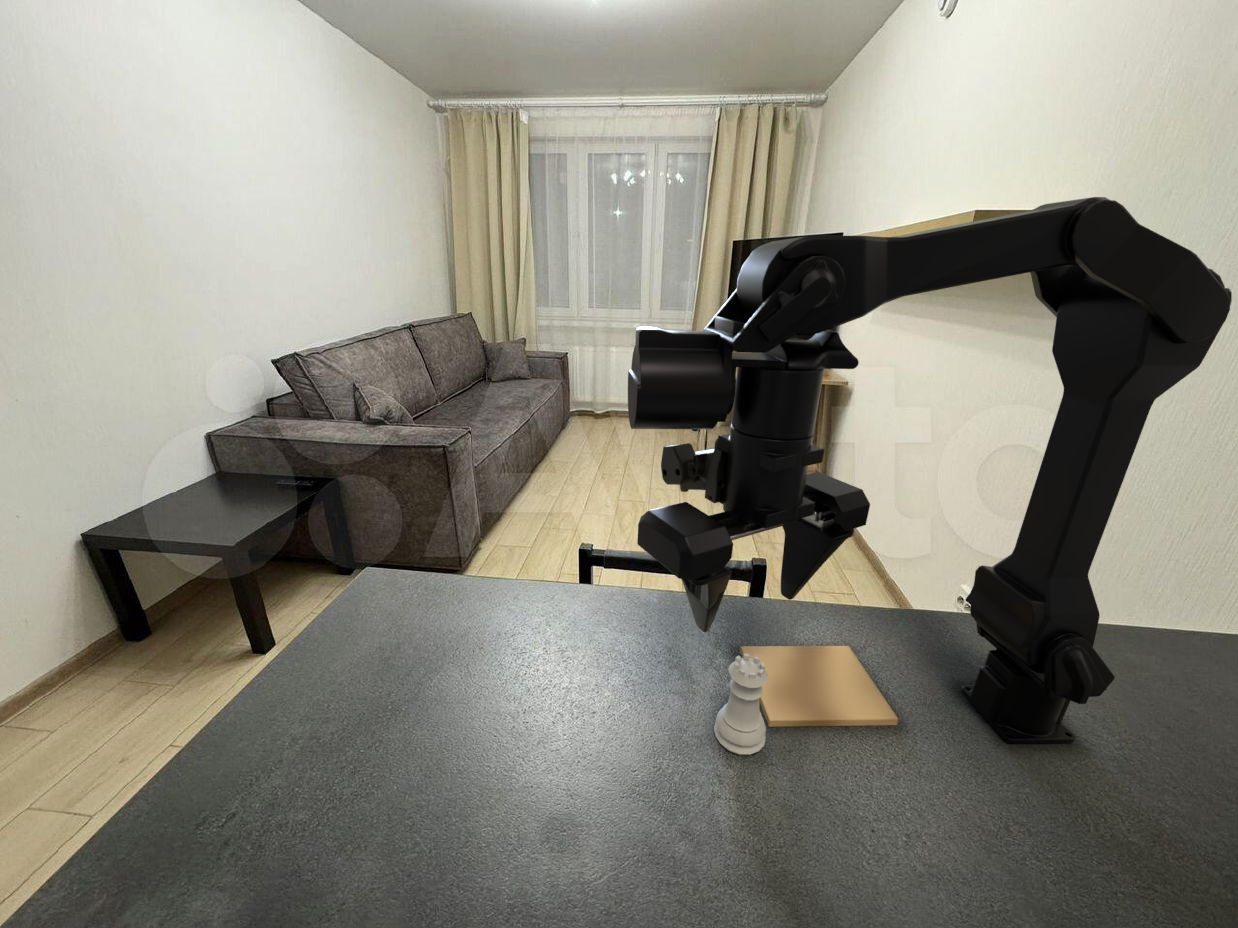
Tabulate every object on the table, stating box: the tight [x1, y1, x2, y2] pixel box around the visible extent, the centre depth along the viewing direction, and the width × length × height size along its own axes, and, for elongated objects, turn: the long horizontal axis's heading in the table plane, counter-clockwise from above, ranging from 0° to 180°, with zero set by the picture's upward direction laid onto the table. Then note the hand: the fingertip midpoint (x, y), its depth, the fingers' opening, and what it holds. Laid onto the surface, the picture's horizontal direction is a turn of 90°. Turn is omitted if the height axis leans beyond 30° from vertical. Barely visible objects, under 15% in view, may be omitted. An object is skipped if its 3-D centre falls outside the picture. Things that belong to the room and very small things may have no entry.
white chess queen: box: [713, 654, 768, 756], centre depth 45 cm, size 4×4×8 cm
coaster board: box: [739, 645, 899, 728], centre depth 52 cm, size 12×10×1 cm
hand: (746, 611), depth 43 cm, fingers open, 9 cm apart
